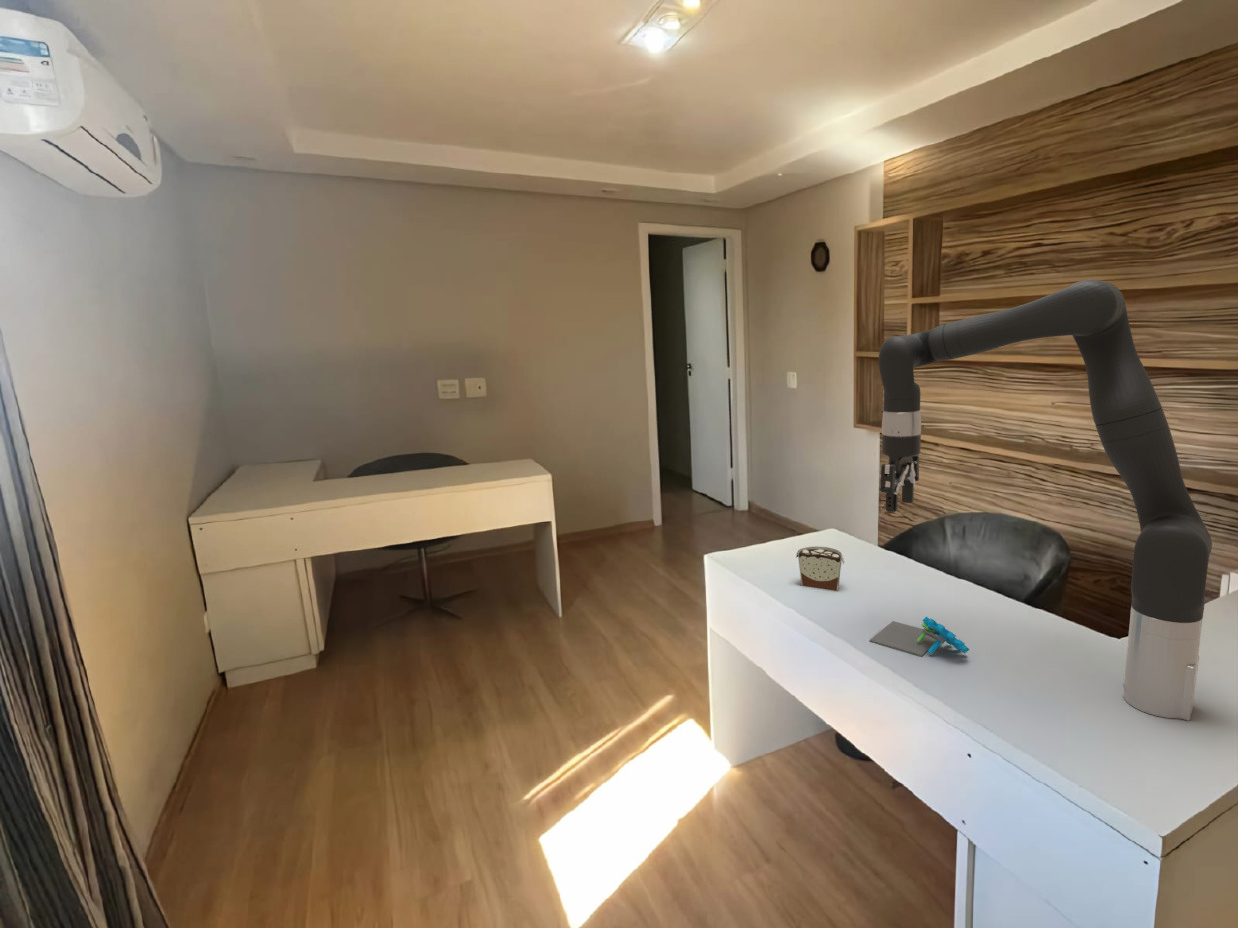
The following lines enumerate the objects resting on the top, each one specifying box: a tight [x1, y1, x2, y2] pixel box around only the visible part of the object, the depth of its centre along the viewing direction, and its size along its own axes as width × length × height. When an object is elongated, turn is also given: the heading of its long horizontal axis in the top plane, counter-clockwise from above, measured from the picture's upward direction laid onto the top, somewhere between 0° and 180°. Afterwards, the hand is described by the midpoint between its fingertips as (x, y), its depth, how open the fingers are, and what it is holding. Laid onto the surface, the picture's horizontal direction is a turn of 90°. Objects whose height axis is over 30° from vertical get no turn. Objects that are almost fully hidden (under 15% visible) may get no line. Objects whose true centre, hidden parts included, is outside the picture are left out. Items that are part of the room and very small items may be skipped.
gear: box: [917, 616, 970, 655], centre depth 133 cm, size 11×6×10 cm
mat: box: [869, 620, 938, 658], centre depth 140 cm, size 11×12×1 cm
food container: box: [795, 545, 845, 593], centre depth 171 cm, size 12×6×10 cm, turn 58°
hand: (899, 506), depth 138 cm, fingers open, 8 cm apart
